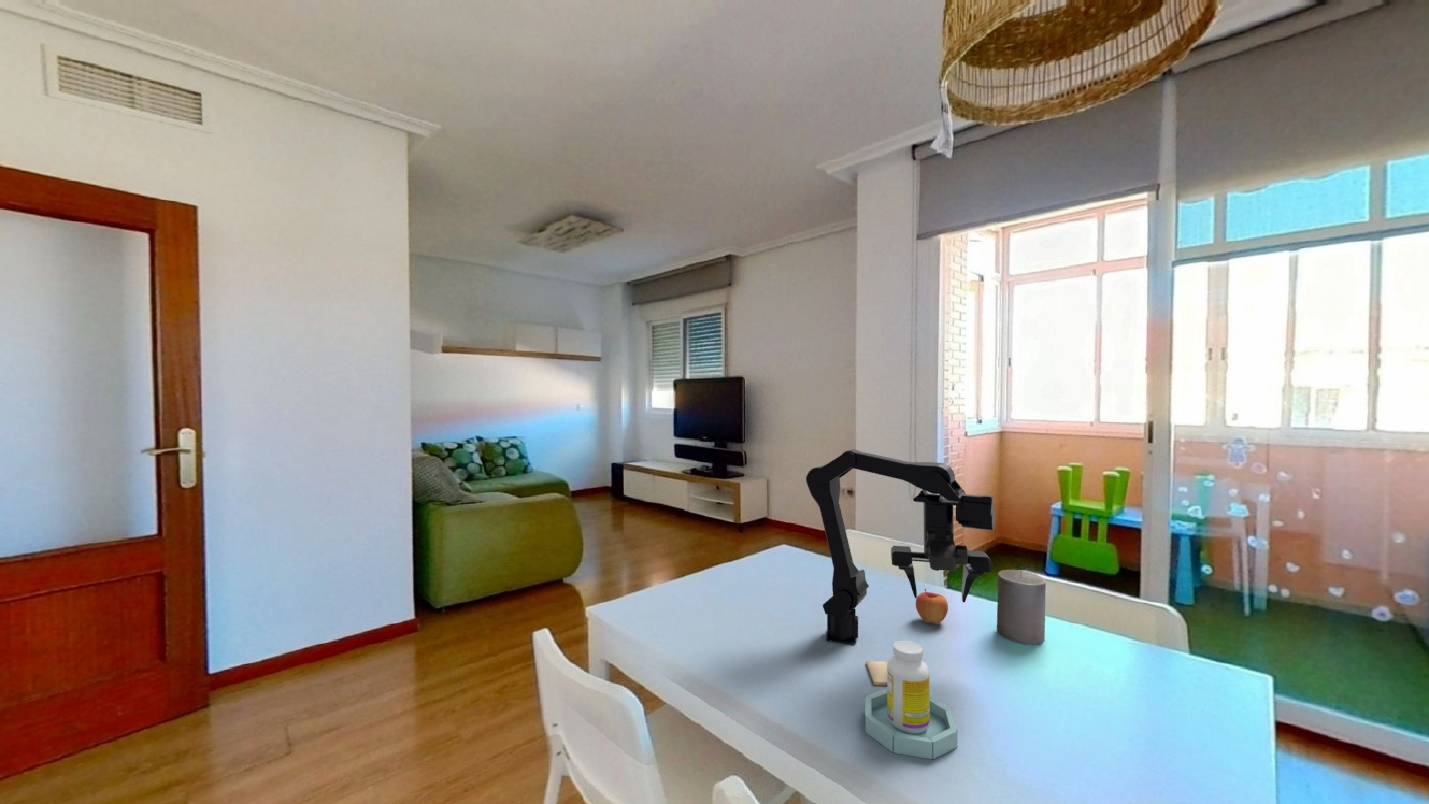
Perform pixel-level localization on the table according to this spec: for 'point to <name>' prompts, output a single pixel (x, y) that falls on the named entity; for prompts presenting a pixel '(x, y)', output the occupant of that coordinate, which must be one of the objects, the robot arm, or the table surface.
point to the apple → (931, 607)
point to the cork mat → (878, 672)
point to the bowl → (919, 745)
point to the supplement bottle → (908, 688)
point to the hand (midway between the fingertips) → (939, 599)
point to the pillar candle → (1021, 606)
